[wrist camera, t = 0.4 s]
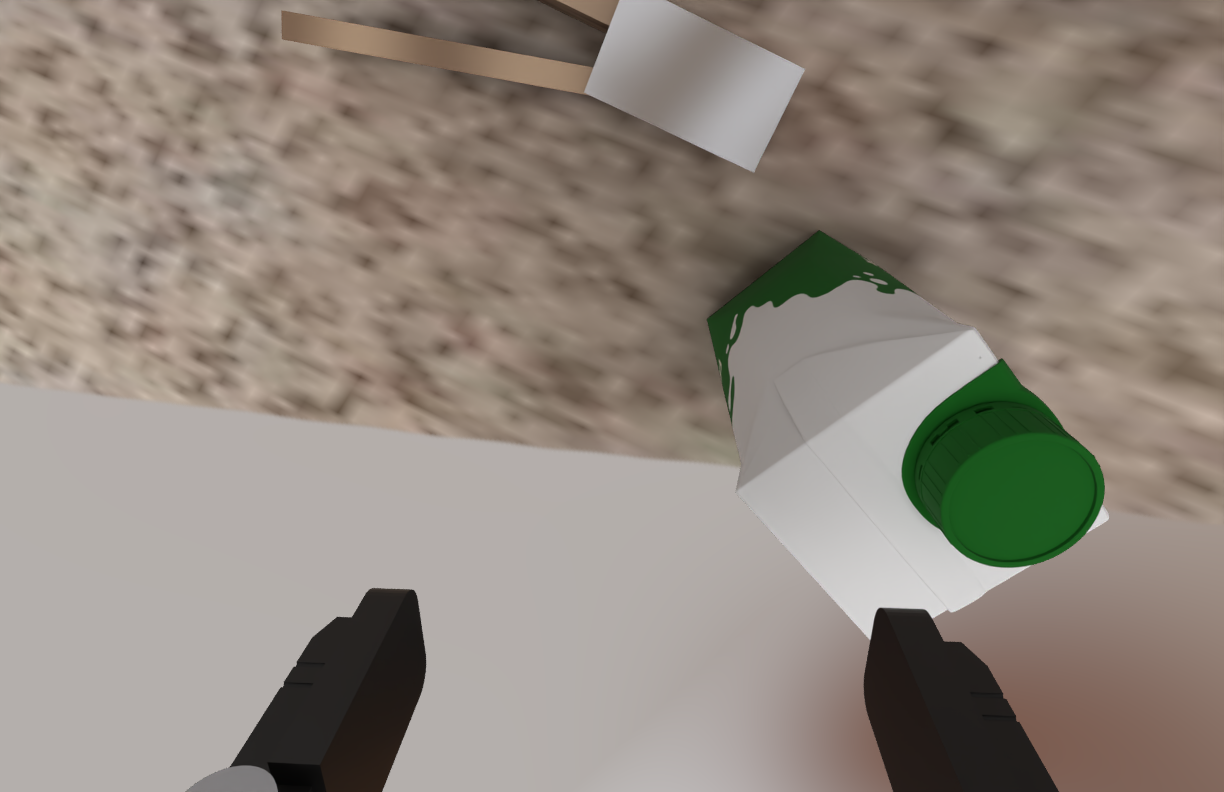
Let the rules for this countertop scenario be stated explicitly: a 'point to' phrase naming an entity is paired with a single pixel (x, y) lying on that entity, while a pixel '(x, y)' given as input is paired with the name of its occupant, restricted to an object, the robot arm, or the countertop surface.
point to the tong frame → (687, 75)
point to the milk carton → (891, 439)
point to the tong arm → (435, 52)
